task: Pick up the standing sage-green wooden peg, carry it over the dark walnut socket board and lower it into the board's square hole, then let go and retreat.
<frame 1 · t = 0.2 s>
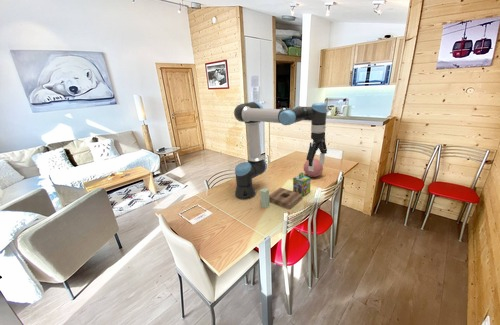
hand: (316, 167, 124), 28 cm above the table, fingers open, 13 cm apart
photo frame: (195, 214, 137), on the table
chalk box: (301, 192, 154), on the table
peg: (265, 206, 140), on the table
socket board: (284, 199, 145), on the table
pink ball: (314, 175, 179), on the table
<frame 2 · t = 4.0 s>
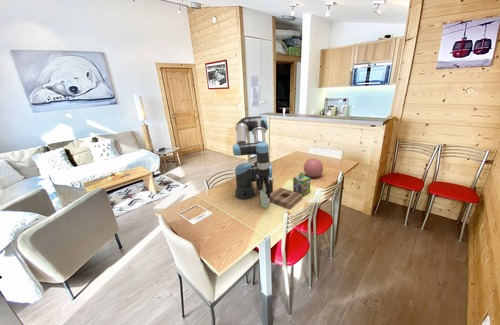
hand: (265, 200, 138), 4 cm above the table, fingers closed on peg, 4 cm apart
peg: (265, 206, 140), on the table, touching gripper
everything else where it was.
when the fingers open (5 cm above the table, at t = 7.9 s): peg drops 1 cm, resting in socket board.
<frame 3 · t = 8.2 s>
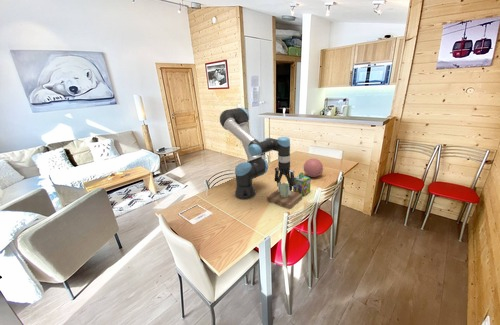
hand: (284, 192, 143), 6 cm above the table, fingers open, 7 cm apart
peg: (284, 199, 145), resting in socket board
everything else where it was.
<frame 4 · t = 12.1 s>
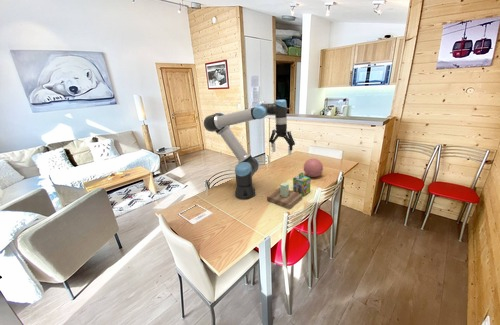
hand: (281, 153, 150), 29 cm above the table, fingers open, 13 cm apart
nothing on the table moved.
at the end: peg 0.1 cm off-centre on the socket board, point 0.0 cm above the socket board's base; peg tilted 0°; the gripper is holding nothing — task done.
